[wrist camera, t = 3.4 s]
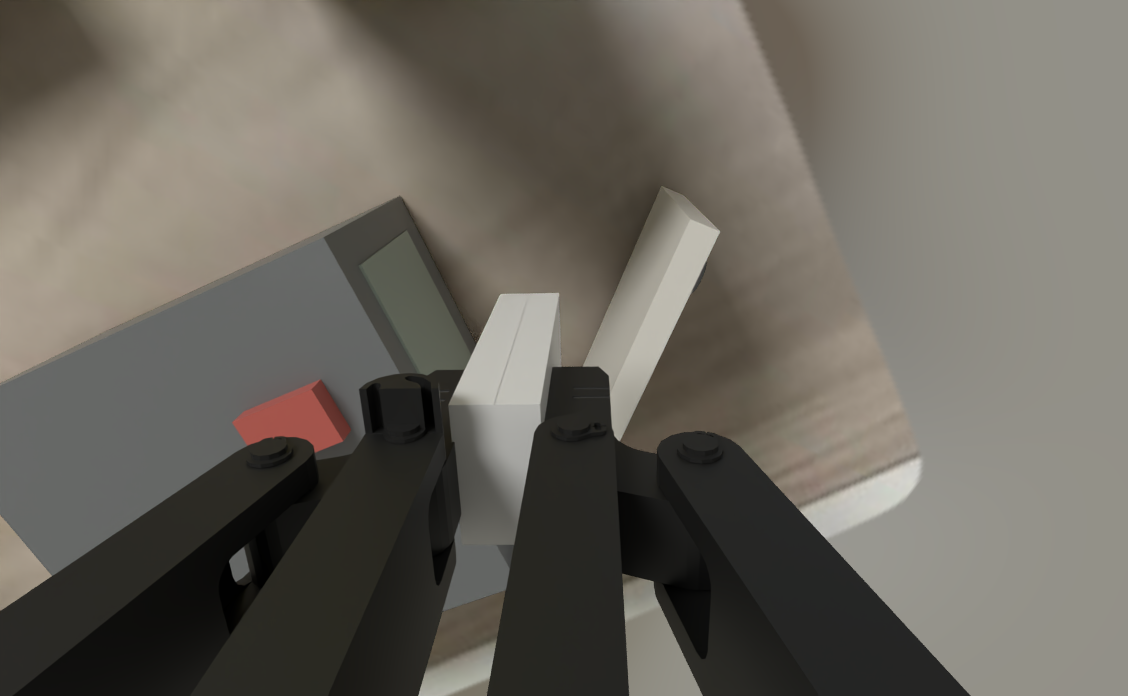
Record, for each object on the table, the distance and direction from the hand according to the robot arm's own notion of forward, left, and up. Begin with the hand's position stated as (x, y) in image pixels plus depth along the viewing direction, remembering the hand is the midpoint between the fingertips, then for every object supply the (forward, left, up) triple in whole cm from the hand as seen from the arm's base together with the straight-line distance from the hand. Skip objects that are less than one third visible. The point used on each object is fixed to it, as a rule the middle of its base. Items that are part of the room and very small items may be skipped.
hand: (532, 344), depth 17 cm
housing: (-13, -3, -13) cm, 18 cm away
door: (+1, -5, -13) cm, 14 cm away
